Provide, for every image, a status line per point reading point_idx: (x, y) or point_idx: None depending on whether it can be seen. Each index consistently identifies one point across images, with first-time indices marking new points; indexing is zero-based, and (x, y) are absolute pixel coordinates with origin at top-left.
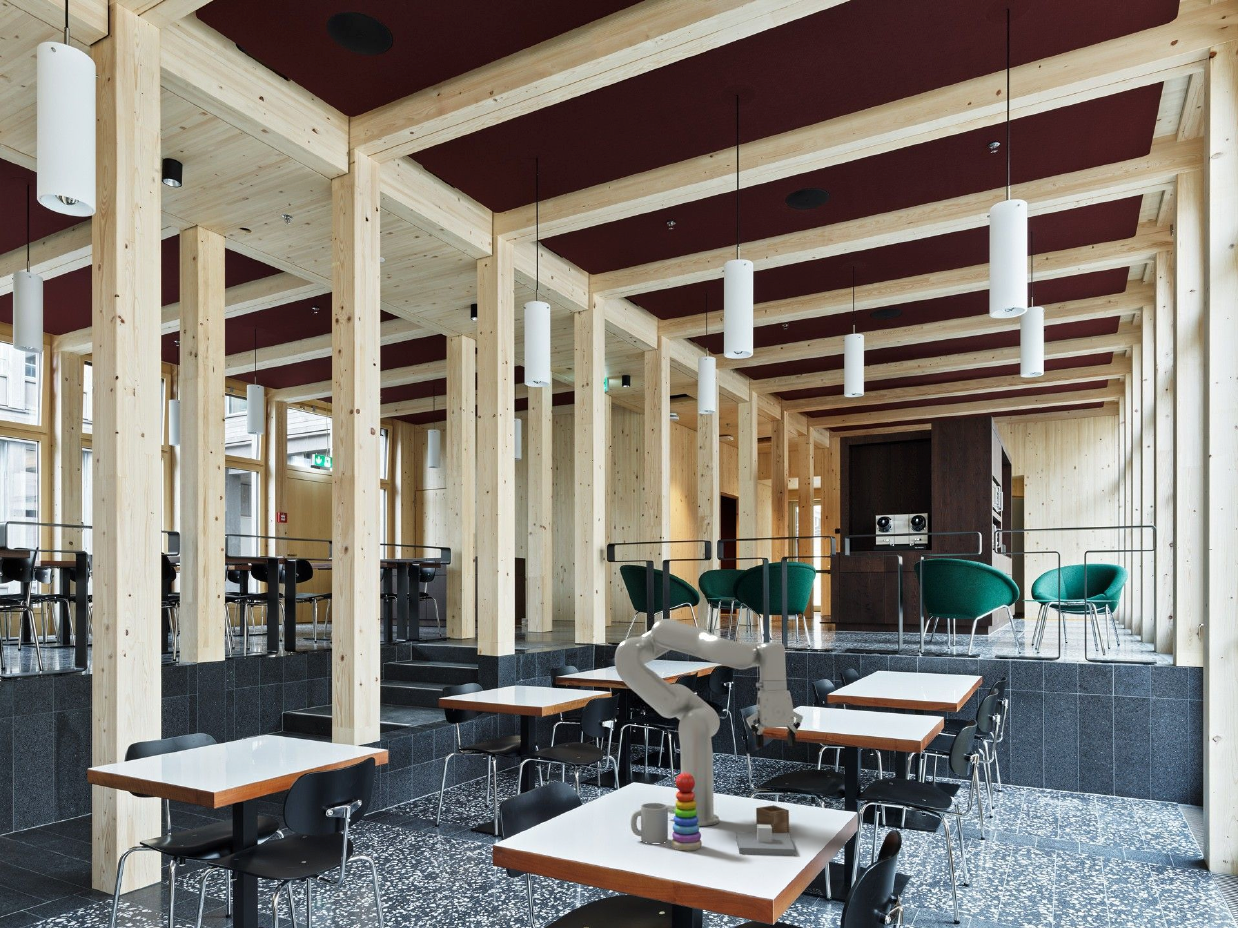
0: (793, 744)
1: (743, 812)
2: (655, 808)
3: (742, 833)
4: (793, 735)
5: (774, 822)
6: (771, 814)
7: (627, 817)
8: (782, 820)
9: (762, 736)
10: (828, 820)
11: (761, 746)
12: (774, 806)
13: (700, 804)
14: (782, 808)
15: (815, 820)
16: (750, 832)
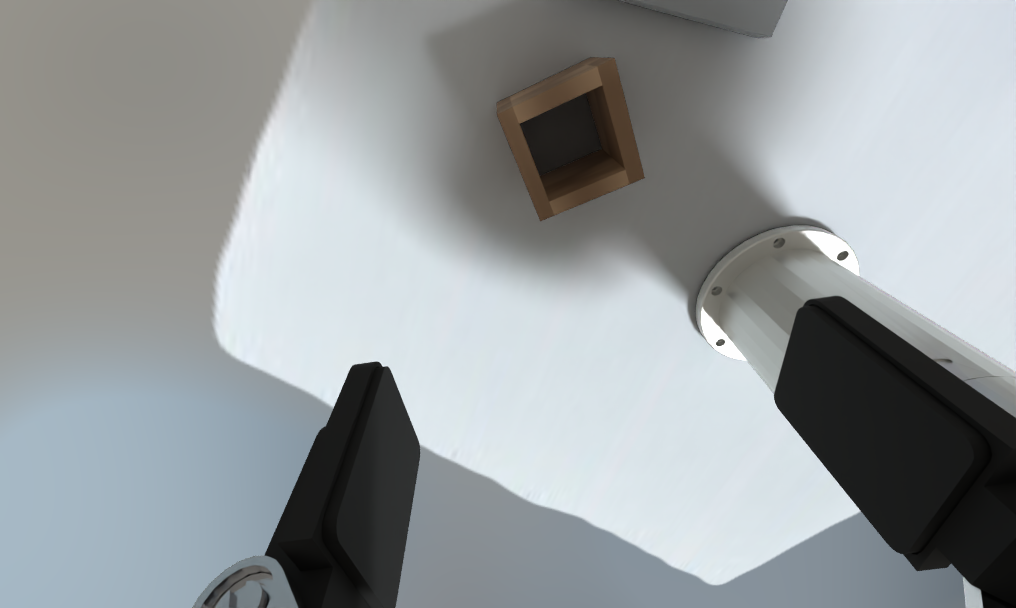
0: (364, 378)
1: (571, 375)
2: None
3: (758, 1)
4: (315, 488)
5: (581, 68)
6: (608, 60)
7: None
8: (534, 90)
9: (981, 415)
10: (300, 267)
11: (855, 312)
12: (544, 197)
13: (841, 275)
14: (518, 154)
15: (350, 271)
16: (712, 17)
